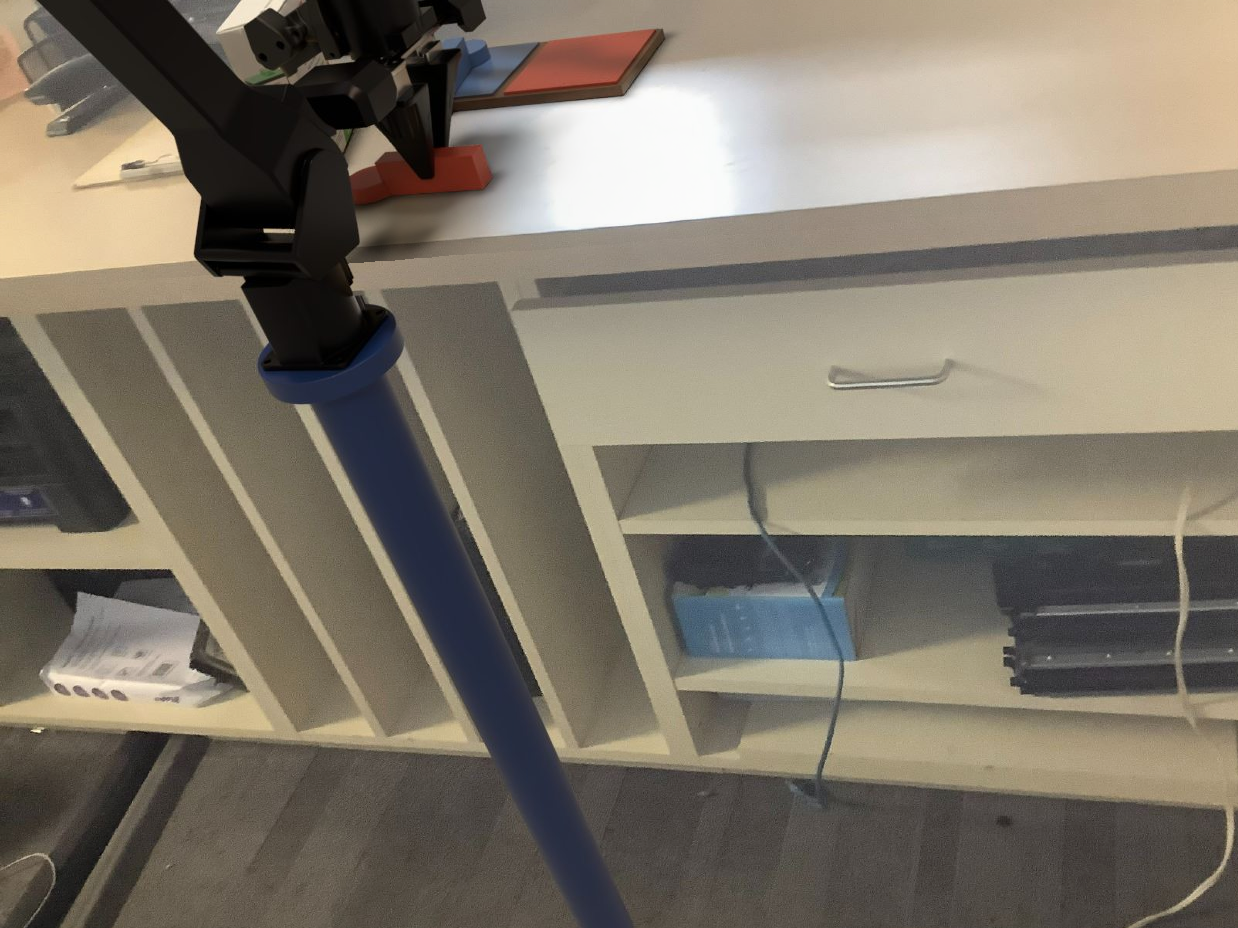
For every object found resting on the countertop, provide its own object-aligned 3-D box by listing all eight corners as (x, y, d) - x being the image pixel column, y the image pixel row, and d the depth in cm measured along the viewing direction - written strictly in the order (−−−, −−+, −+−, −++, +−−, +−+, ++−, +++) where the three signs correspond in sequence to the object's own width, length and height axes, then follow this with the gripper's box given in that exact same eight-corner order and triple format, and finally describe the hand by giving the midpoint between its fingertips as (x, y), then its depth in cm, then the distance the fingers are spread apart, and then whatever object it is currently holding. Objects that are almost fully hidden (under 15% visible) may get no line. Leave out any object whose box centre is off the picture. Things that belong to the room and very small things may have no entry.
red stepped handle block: (498, 170, 84) (487, 136, 82) (477, 196, 81) (465, 162, 79) (364, 180, 87) (351, 148, 86) (340, 205, 85) (325, 173, 83)
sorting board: (623, 95, 90) (620, 82, 89) (383, 117, 97) (379, 106, 96) (665, 37, 98) (662, 25, 98) (441, 61, 105) (437, 51, 105)
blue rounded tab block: (460, 102, 93) (449, 70, 92) (415, 108, 94) (403, 77, 93) (495, 49, 102) (486, 20, 100) (453, 56, 103) (444, 27, 101)
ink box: (301, 138, 97) (238, -5, 90) (356, 125, 97) (298, -20, 89) (280, 180, 91) (211, 30, 83) (340, 167, 90) (275, 14, 83)
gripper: (315, -86, 82) (394, 124, 92) (164, 9, 69) (276, 241, 79) (452, -108, 78) (518, 113, 88) (320, -12, 65) (416, 233, 75)
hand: (433, 171), depth 83 cm, fingers closed on red stepped handle block, 2 cm apart
